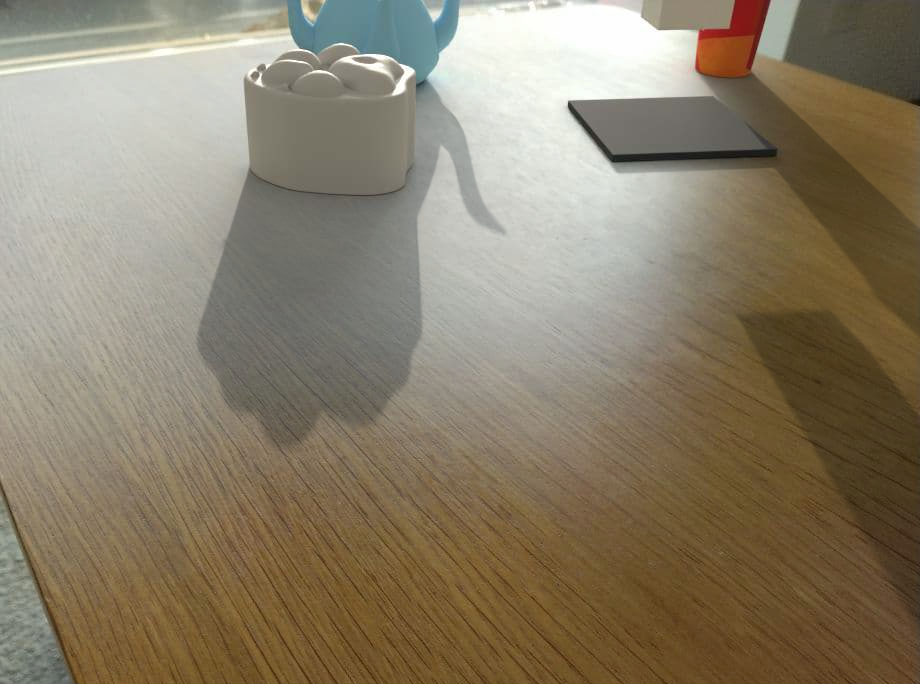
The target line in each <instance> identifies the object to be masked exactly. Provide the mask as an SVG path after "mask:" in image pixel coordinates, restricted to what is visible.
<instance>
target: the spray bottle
mask: <svg viewBox="0 0 920 684" xmlns="http://www.w3.org/2000/svg"><path fill="white" fill-rule="evenodd" d="M734 2H735V0H642V6H641V13H640V18H641V19H643V20H644V21H645V22H646V23H648V24H649V25H650V26H652V27H653V28H654V29H656V30H657V31H689V30H695V31H696V30H699V29H729V27H730V22H731V17H732V12H733V7H734Z"/></svg>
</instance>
